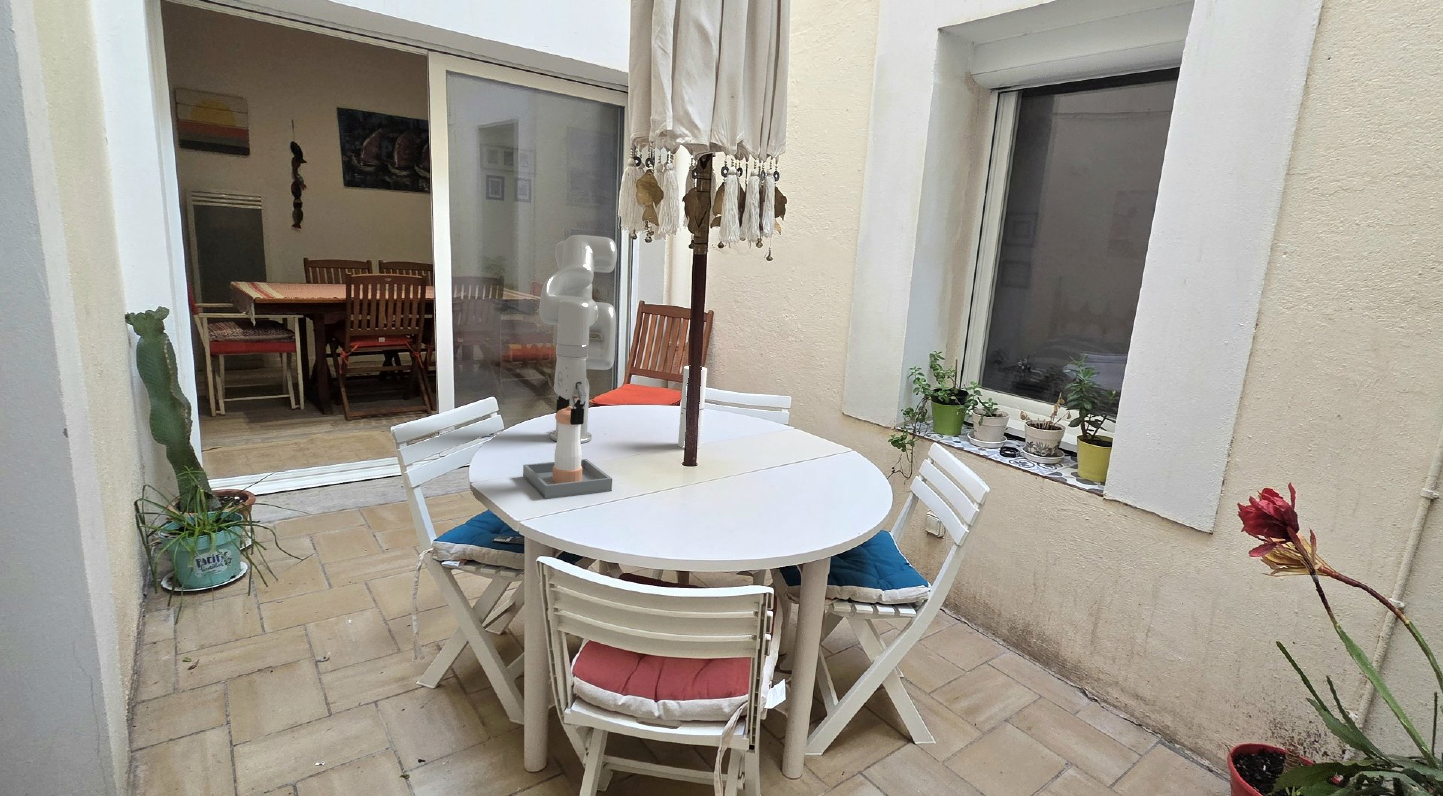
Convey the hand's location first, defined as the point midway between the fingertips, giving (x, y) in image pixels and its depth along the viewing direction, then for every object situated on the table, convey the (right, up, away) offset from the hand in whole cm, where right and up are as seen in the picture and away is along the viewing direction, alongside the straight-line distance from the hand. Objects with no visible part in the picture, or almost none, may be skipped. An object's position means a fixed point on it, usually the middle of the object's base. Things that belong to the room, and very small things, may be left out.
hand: (569, 419), depth 173 cm
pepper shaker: (-1, -16, +3) cm, 16 cm away
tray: (-1, -16, +3) cm, 17 cm away
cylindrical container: (+28, -10, +46) cm, 55 cm away
